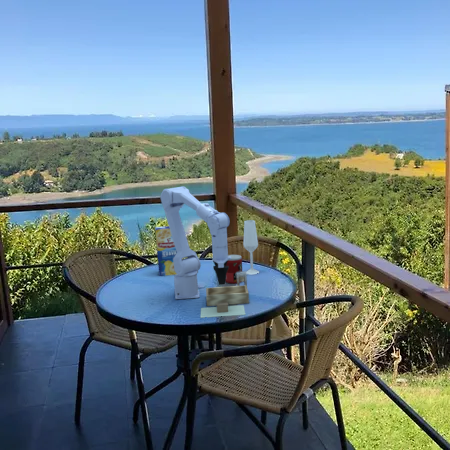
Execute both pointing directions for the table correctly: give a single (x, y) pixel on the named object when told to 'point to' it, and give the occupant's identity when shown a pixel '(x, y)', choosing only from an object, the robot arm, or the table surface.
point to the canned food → (233, 268)
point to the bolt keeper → (240, 274)
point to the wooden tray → (227, 295)
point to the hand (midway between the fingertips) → (221, 281)
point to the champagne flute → (250, 242)
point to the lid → (222, 310)
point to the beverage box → (165, 251)
